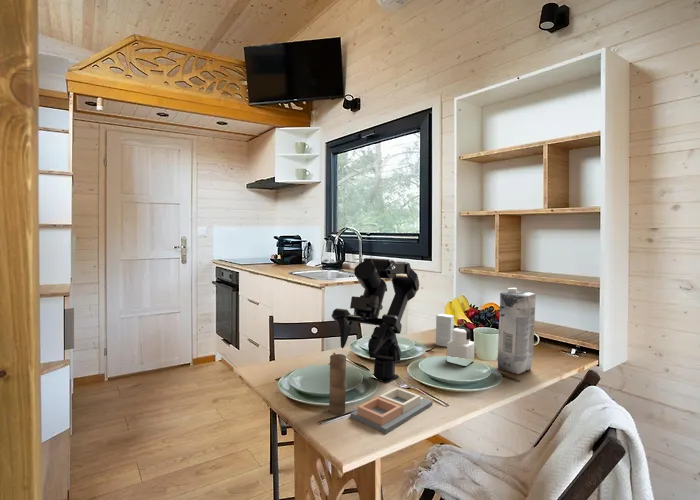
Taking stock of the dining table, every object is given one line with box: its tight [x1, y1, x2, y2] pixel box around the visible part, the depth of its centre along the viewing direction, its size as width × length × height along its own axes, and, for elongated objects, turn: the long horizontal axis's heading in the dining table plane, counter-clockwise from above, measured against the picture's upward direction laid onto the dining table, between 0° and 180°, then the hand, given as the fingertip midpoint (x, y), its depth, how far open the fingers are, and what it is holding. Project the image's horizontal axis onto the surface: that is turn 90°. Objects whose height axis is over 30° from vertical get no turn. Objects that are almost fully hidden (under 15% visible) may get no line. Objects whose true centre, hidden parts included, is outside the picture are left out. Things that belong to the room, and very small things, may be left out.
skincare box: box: [435, 313, 455, 348], centre depth 158 cm, size 6×4×12 cm
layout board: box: [350, 386, 434, 434], centre depth 101 cm, size 20×11×3 cm, turn 137°
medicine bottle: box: [446, 326, 475, 361], centre depth 138 cm, size 7×7×12 cm
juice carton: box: [497, 287, 537, 375], centre depth 132 cm, size 9×10×27 cm
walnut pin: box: [328, 353, 347, 416], centre depth 100 cm, size 4×4×14 cm
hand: (357, 350), depth 104 cm, fingers open, 9 cm apart
